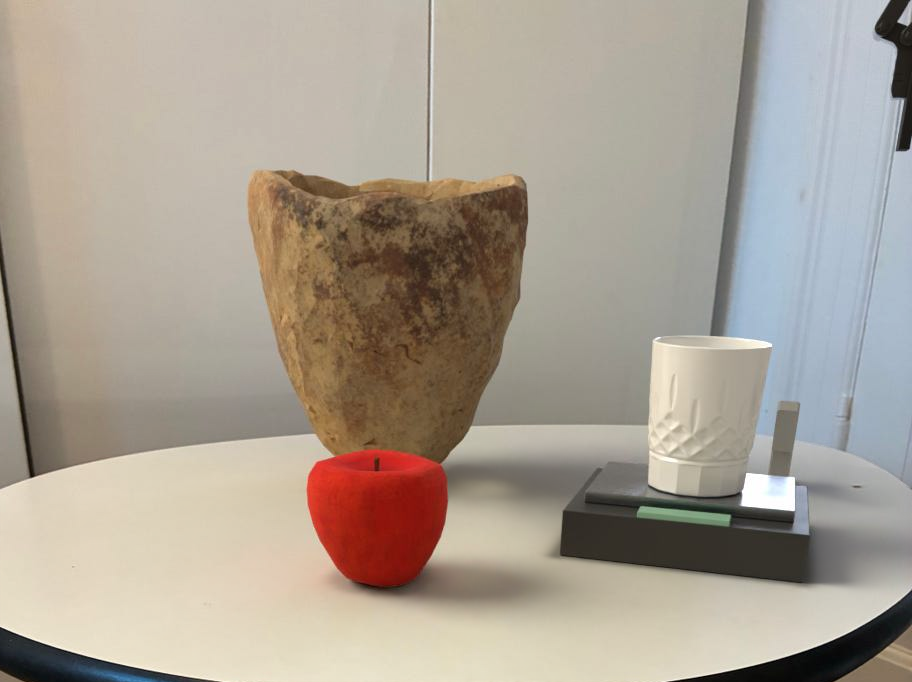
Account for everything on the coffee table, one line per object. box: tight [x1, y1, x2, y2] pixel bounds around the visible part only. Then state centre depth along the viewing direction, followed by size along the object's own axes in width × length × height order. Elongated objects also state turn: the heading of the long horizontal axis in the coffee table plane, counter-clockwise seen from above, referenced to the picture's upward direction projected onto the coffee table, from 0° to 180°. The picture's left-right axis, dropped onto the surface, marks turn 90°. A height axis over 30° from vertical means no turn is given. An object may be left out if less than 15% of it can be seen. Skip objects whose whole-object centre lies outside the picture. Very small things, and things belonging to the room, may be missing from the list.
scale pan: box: [584, 461, 796, 523], centre depth 74 cm, size 14×10×1 cm
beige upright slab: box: [767, 400, 801, 477], centre depth 88 cm, size 7×2×8 cm, turn 161°
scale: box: [559, 467, 811, 583], centre depth 74 cm, size 16×14×4 cm
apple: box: [306, 449, 449, 588], centre depth 64 cm, size 9×9×8 cm
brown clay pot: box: [247, 169, 529, 465], centre depth 86 cm, size 22×22×25 cm
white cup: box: [647, 335, 773, 497], centre depth 71 cm, size 8×8×10 cm
